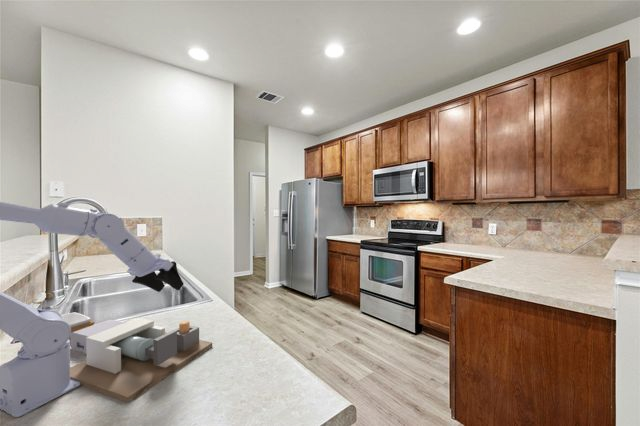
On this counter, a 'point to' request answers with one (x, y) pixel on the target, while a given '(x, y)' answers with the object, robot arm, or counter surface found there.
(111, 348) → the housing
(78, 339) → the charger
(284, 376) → the counter surface
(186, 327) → the orange rounded peg
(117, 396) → the mounting board
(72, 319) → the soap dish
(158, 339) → the grey and blue plunger
